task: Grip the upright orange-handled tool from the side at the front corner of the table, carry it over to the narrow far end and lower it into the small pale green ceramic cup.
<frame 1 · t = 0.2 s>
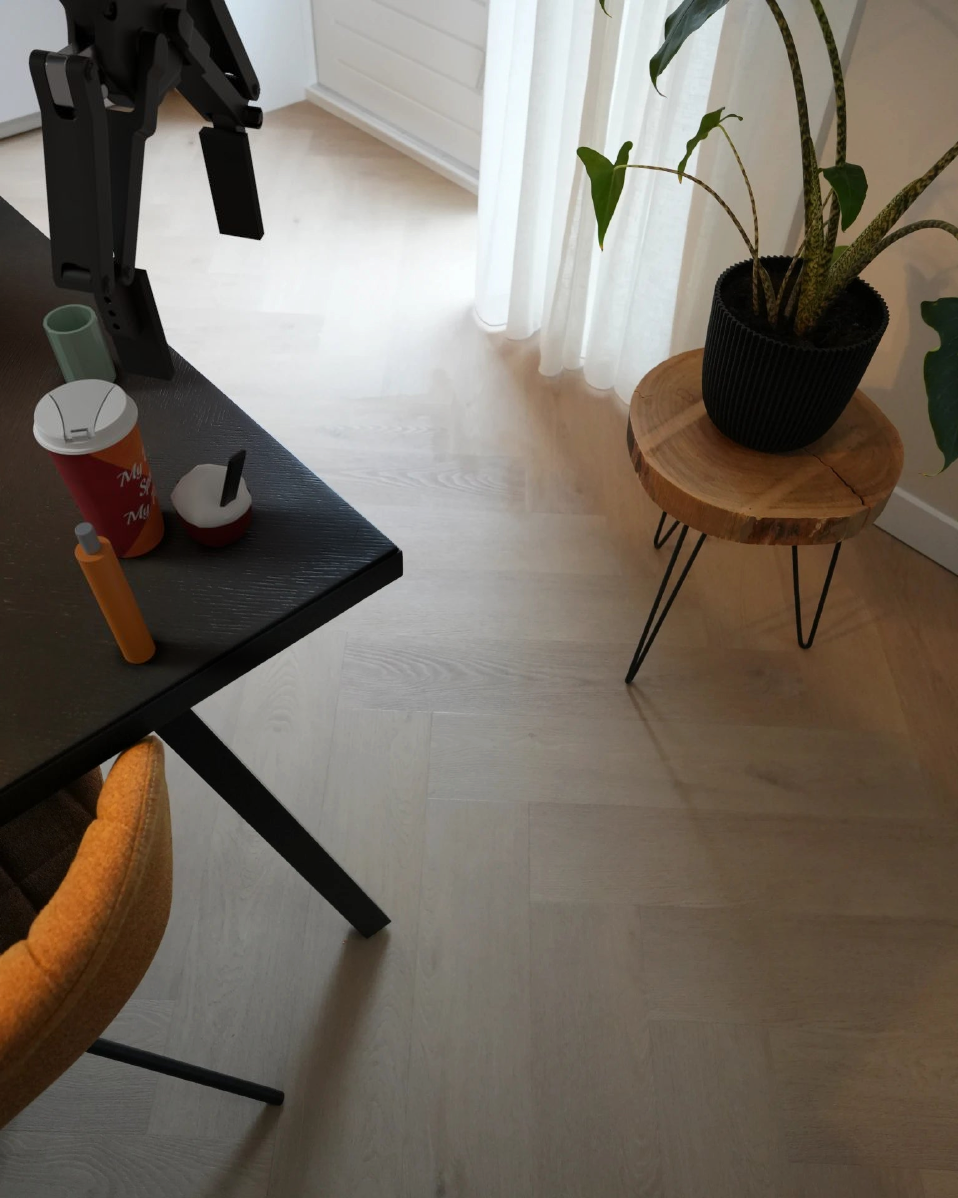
hand: (199, 299, 57), 28 cm above the table, tool pointing down, fingers open, 13 cm apart
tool: (139, 651, 75), on the table
cocoa: (224, 536, 83), on the table
pencil cup: (91, 378, 96), on the table
paper cup: (132, 535, 83), on the table
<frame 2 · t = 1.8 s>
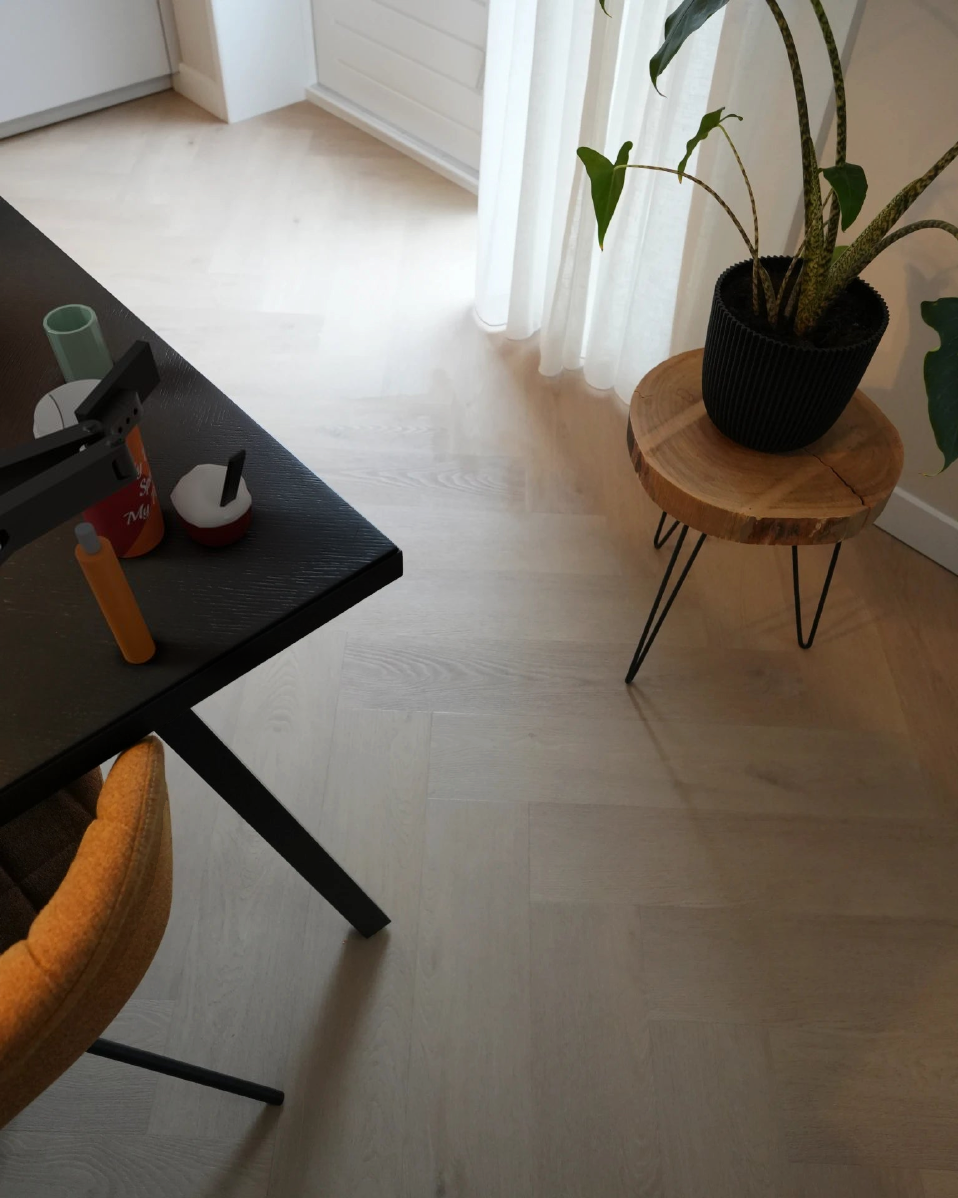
hand: (46, 338, 57), 27 cm above the table, tool horizontal, fingers open, 13 cm apart
nothing on the table moved.
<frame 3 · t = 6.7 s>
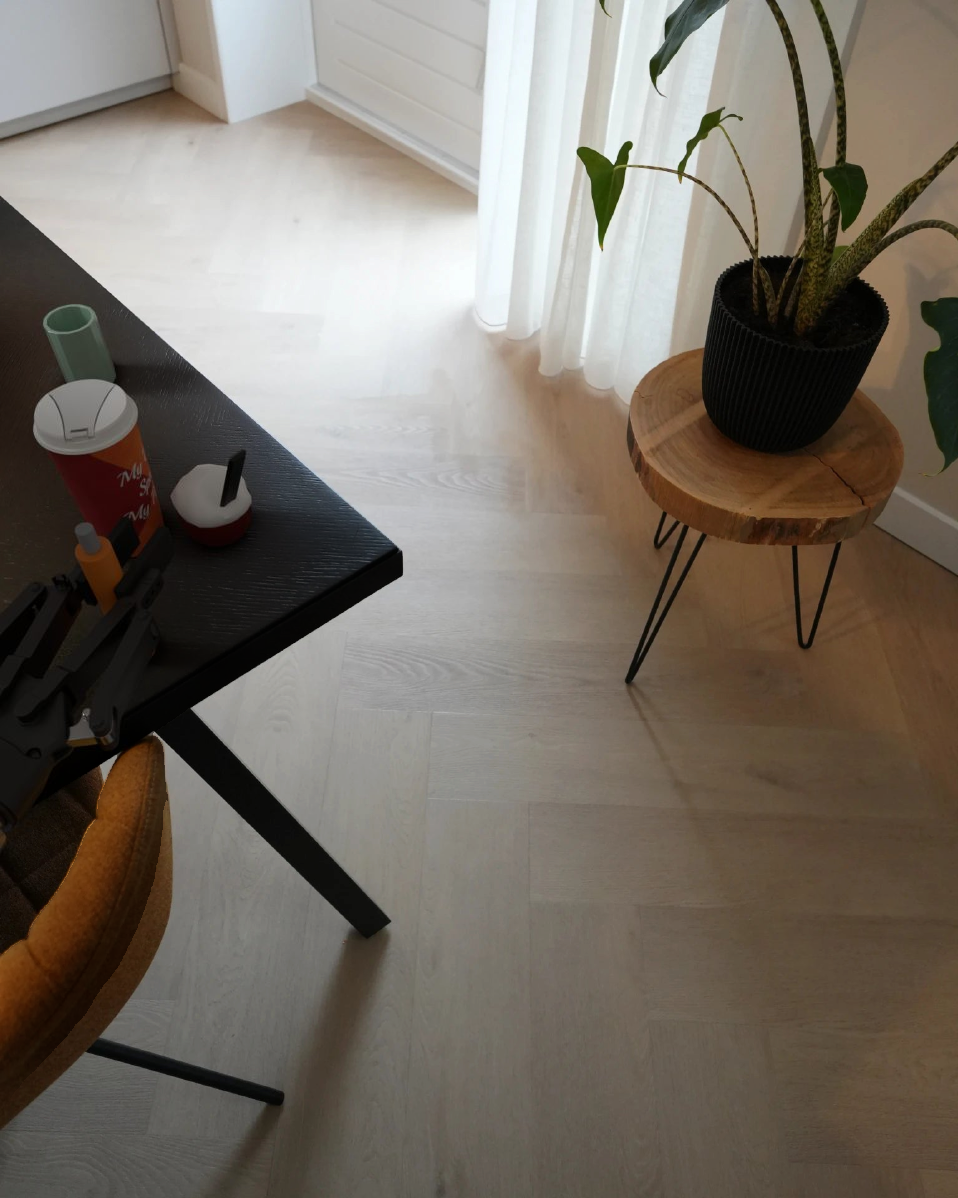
hand: (149, 534, 73), 8 cm above the table, tool horizontal, fingers closed on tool, 2 cm apart
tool: (139, 651, 75), on the table, touching gripper
everything else where it was.
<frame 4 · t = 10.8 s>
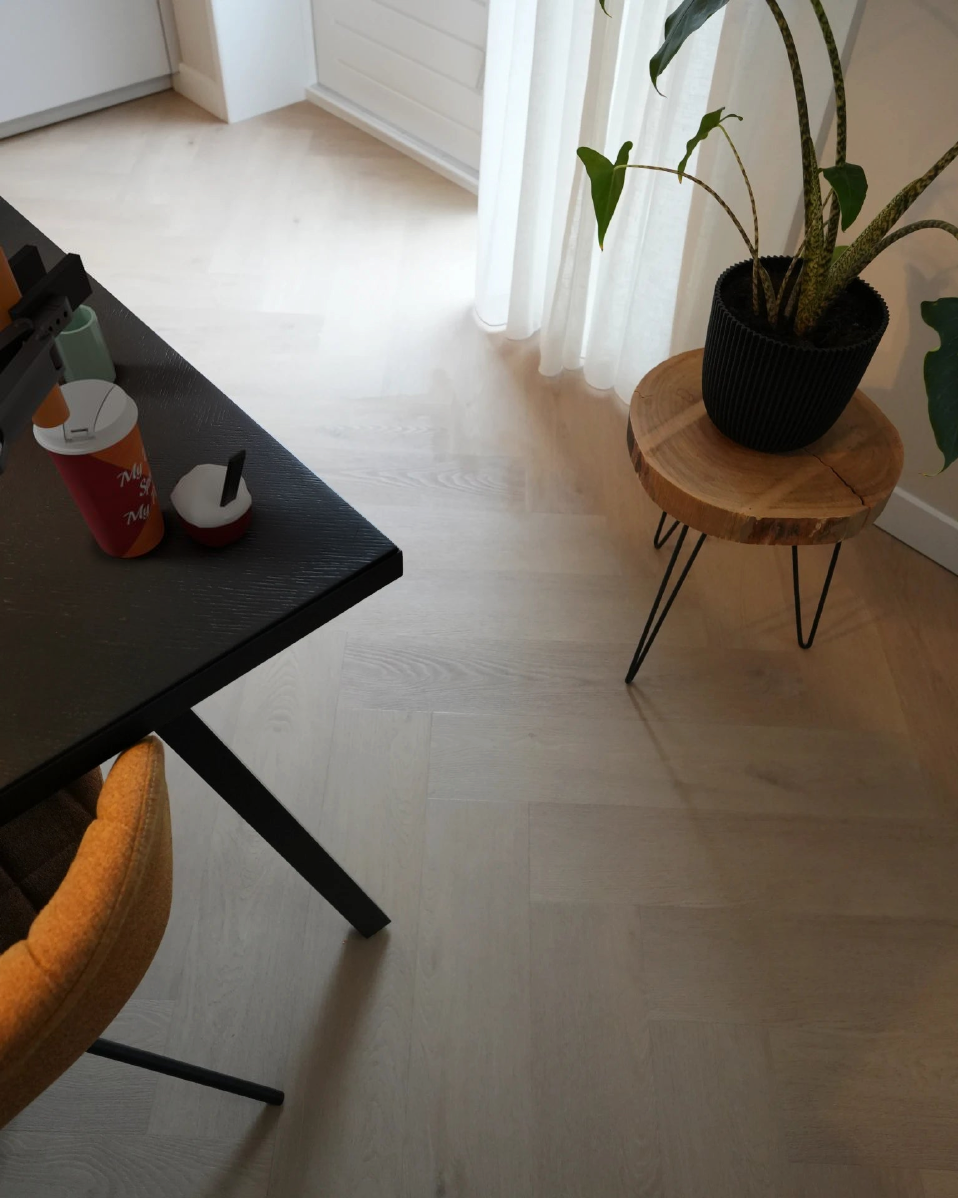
hand: (59, 268, 62), 27 cm above the table, tool horizontal, fingers closed on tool, 2 cm apart
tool: (51, 416, 64), point 19 cm above the table, touching gripper
everything else where it was.
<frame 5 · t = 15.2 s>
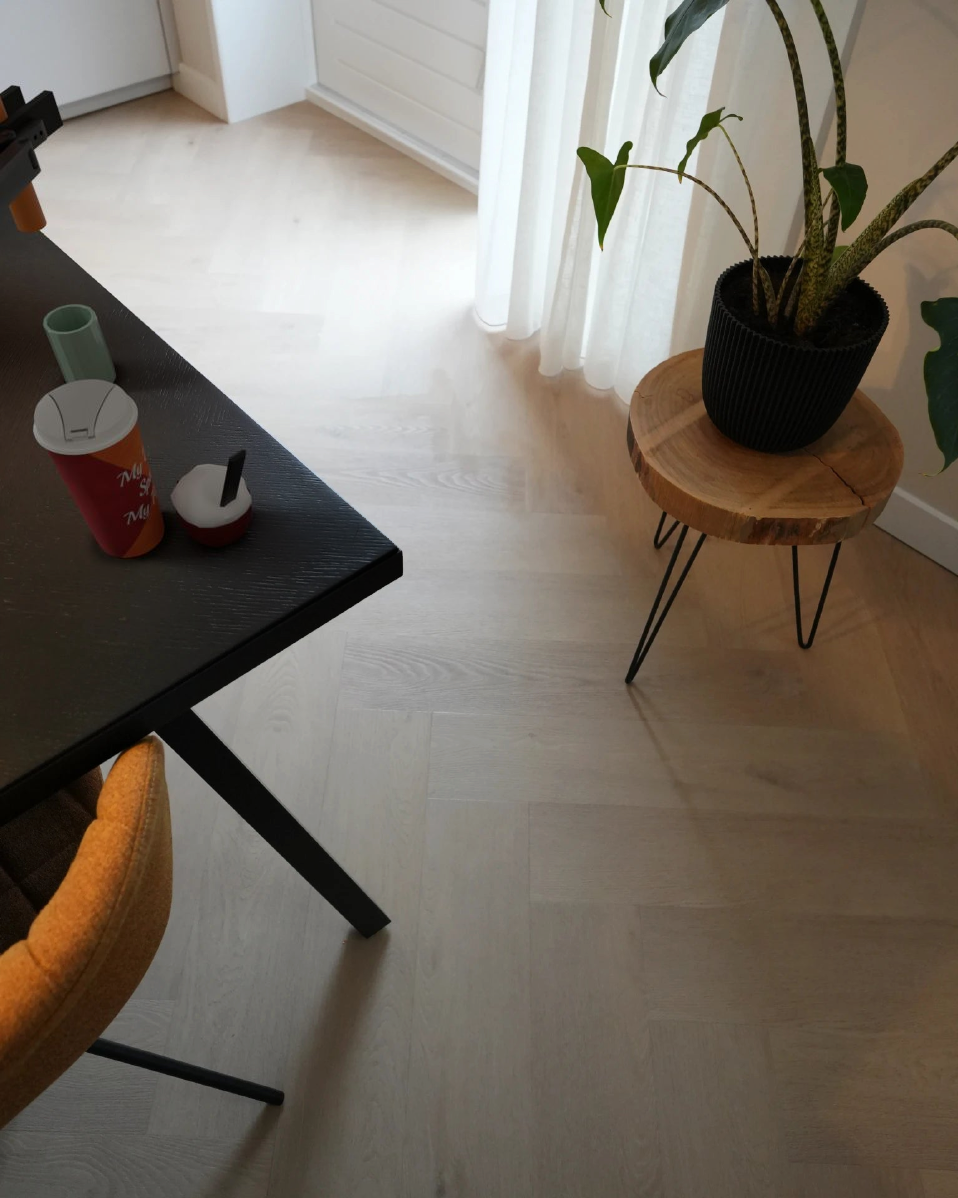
hand: (37, 105, 80), 25 cm above the table, tool horizontal, fingers closed on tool, 2 cm apart
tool: (32, 225, 83), point 17 cm above the table, touching gripper
everything else where it was.
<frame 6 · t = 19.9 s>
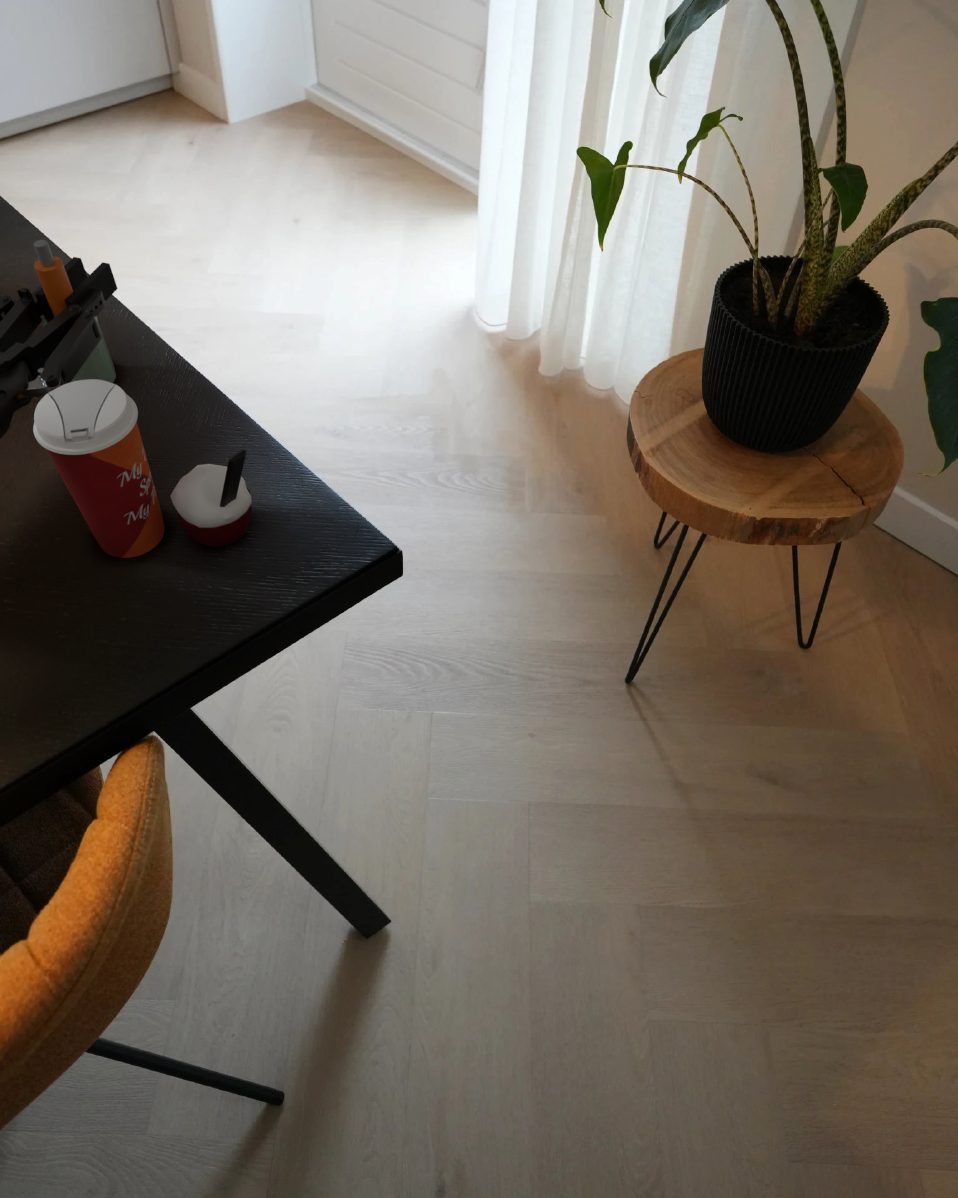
hand: (95, 273, 93), 9 cm above the table, tool horizontal, fingers closed on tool, 2 cm apart
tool: (89, 372, 96), point 1 cm above the table, touching gripper
everything else where it was.
when the fingers open (12 cm above the table, at t = 23.7 s): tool drops 4 cm, resting on pencil cup.
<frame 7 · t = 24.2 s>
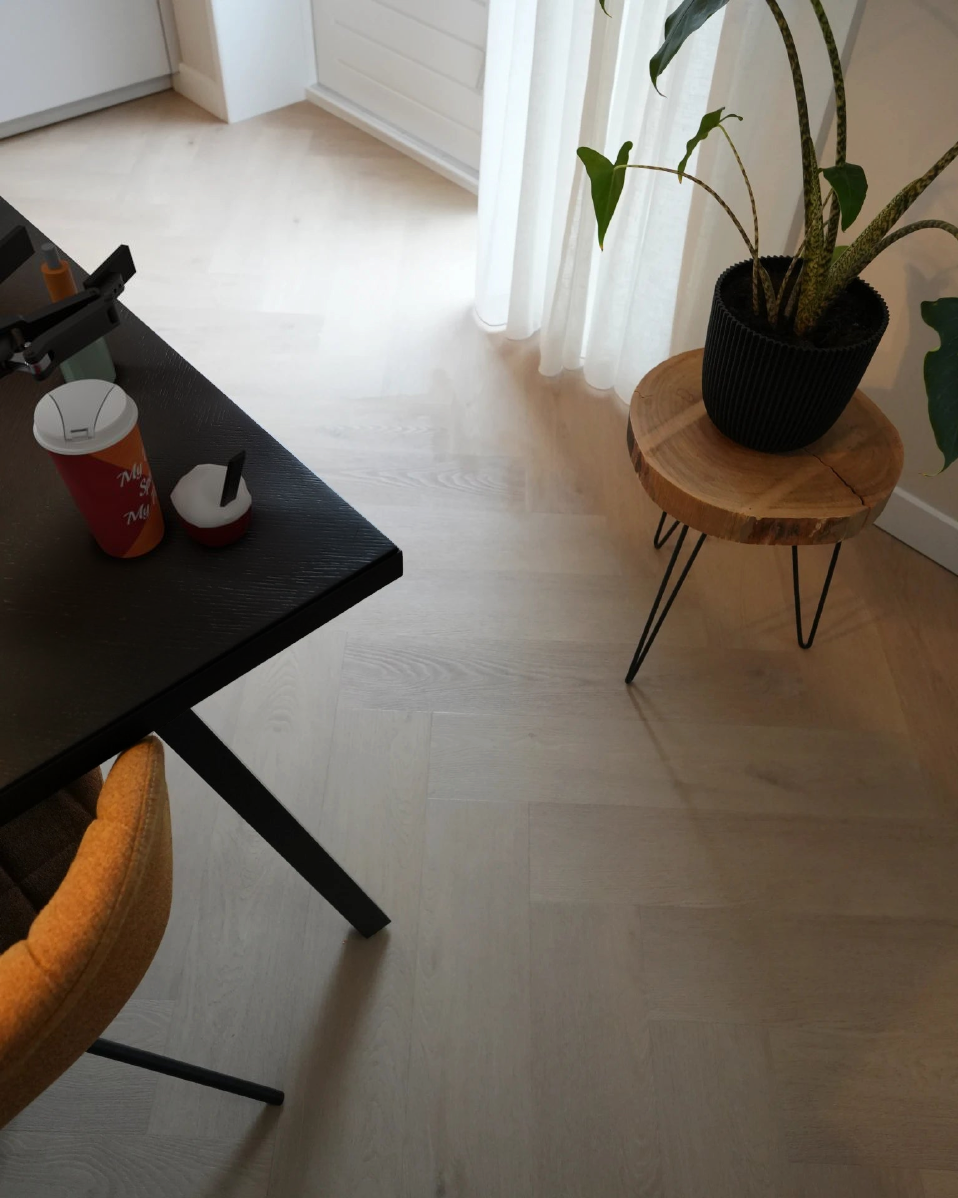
hand: (77, 248, 90), 12 cm above the table, tool horizontal, fingers open, 10 cm apart
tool: (90, 374, 96), point 1 cm above the table, touching pencil cup
everything else where it was.
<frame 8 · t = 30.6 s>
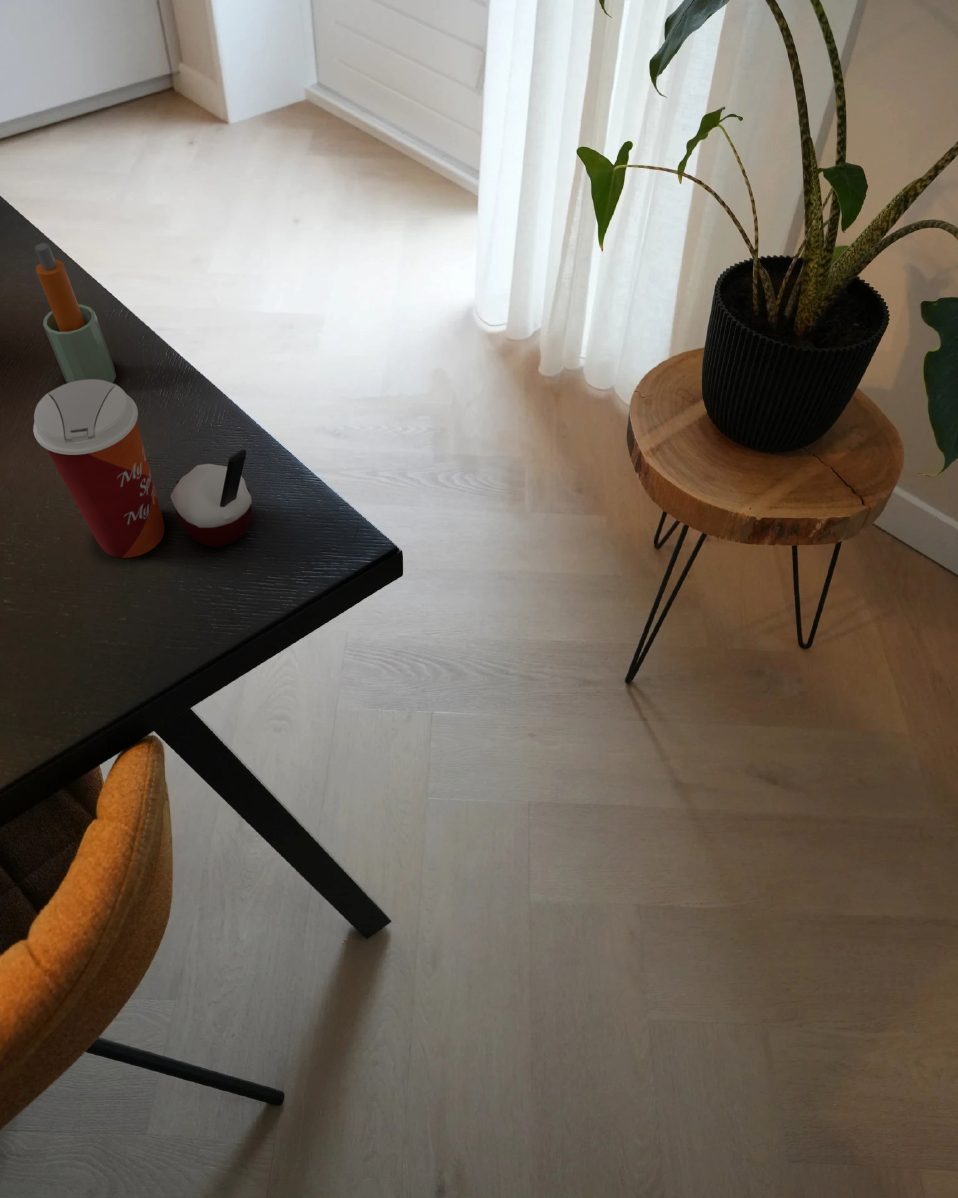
nothing on the table moved.
at the end: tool 0.1 cm off-centre in the pencil cup, point 0.5 cm above the pencil cup's base; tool tilted 0°; the gripper is holding nothing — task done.
